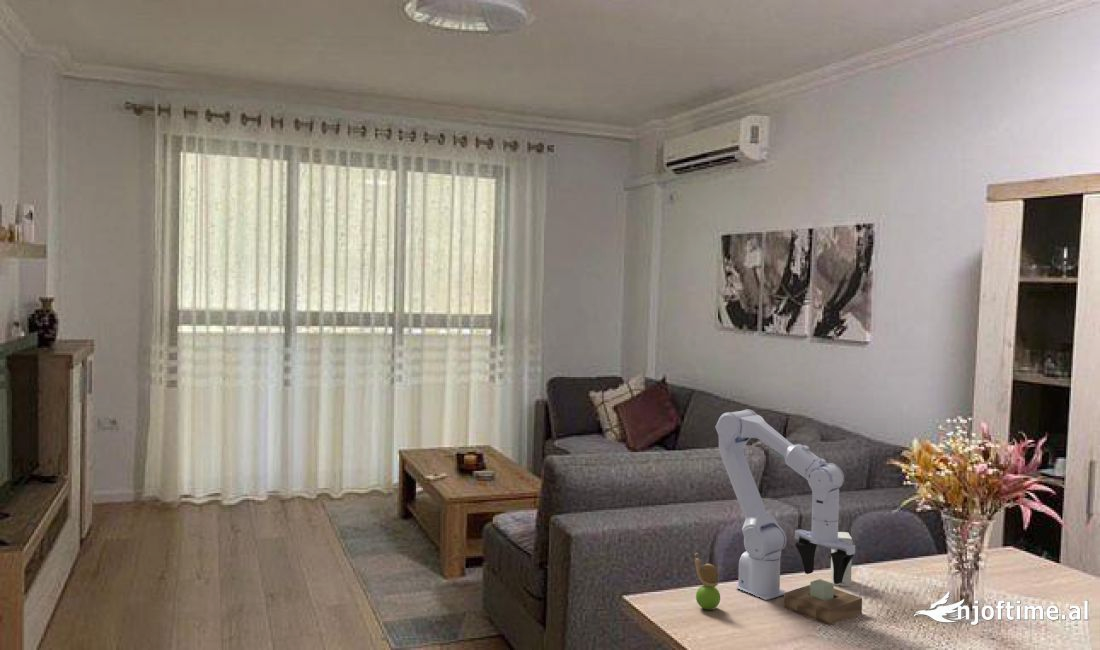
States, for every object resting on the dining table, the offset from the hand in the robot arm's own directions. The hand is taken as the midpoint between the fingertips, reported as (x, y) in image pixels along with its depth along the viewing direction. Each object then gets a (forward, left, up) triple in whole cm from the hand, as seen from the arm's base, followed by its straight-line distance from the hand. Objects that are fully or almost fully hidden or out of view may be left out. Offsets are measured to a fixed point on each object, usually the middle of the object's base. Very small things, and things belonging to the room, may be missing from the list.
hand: (823, 577), depth 185 cm
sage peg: (0, 0, -7) cm, 7 cm away
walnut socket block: (0, 0, -8) cm, 8 cm away
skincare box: (-9, +20, -8) cm, 23 cm away
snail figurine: (-16, -21, -8) cm, 27 cm away
